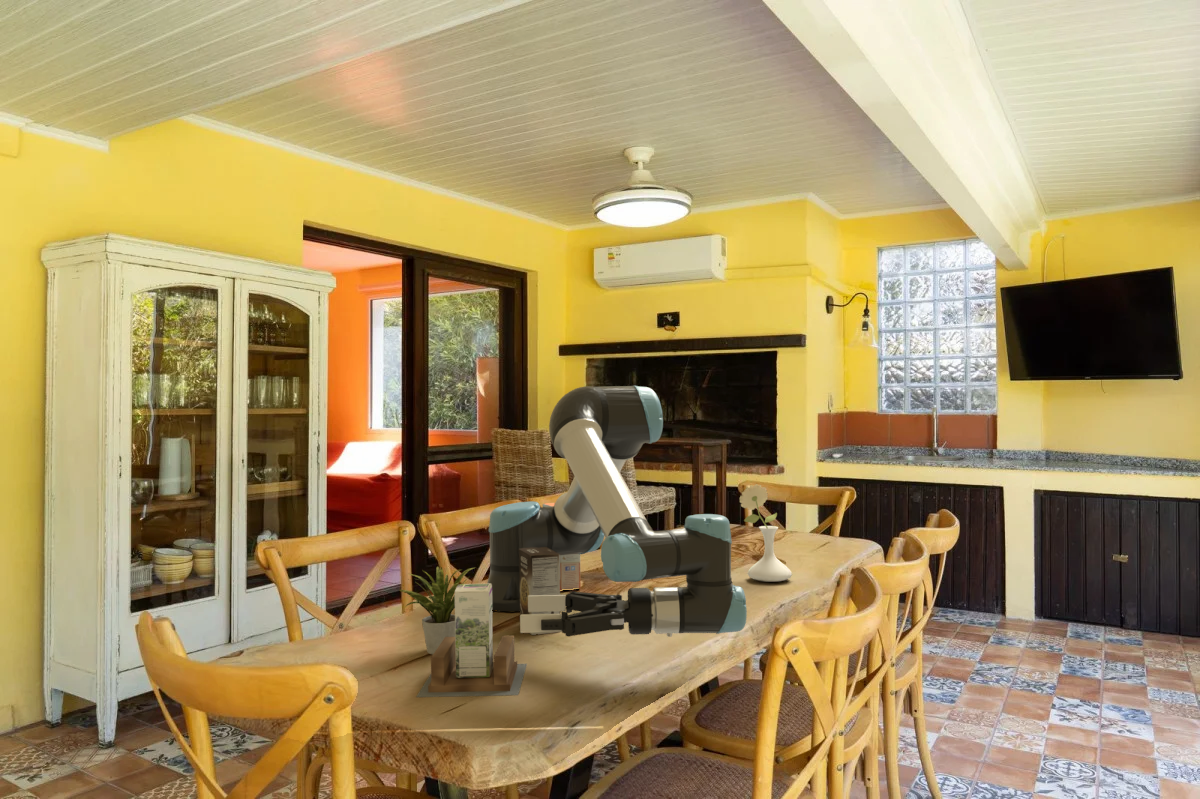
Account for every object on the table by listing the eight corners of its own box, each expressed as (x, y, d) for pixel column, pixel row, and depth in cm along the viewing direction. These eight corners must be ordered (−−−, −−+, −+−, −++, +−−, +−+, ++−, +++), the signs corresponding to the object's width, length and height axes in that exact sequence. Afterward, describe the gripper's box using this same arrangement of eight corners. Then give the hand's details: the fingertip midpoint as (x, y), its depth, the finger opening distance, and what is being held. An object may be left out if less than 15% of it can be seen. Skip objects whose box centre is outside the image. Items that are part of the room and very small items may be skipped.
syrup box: (493, 667, 138) (492, 581, 138) (490, 678, 132) (488, 589, 133) (460, 668, 138) (458, 582, 138) (455, 679, 132) (453, 590, 132)
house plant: (450, 635, 163) (448, 554, 164) (497, 647, 155) (496, 561, 155) (391, 652, 152) (389, 565, 153) (438, 666, 144) (437, 573, 144)
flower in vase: (789, 576, 216) (787, 482, 217) (795, 585, 205) (793, 485, 205) (739, 576, 217) (737, 482, 218) (742, 585, 206) (740, 486, 206)
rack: (517, 667, 141) (516, 635, 141) (510, 690, 129) (509, 656, 129) (442, 668, 141) (442, 636, 141) (428, 692, 129) (427, 657, 129)
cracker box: (582, 590, 203) (580, 506, 204) (559, 592, 201) (558, 508, 201) (564, 580, 216) (562, 501, 217) (542, 582, 214) (541, 502, 215)
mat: (527, 665, 143) (527, 663, 143) (518, 696, 127) (518, 694, 127) (436, 667, 143) (436, 665, 143) (416, 698, 127) (416, 696, 127)
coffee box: (518, 625, 171) (517, 548, 171) (548, 621, 173) (546, 545, 173) (530, 635, 162) (529, 554, 163) (561, 632, 165) (560, 552, 165)
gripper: (657, 655, 123) (517, 658, 123) (647, 614, 148) (531, 617, 148) (656, 605, 123) (516, 608, 123) (647, 573, 148) (530, 575, 148)
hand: (524, 613), depth 135 cm, fingers open, 13 cm apart
